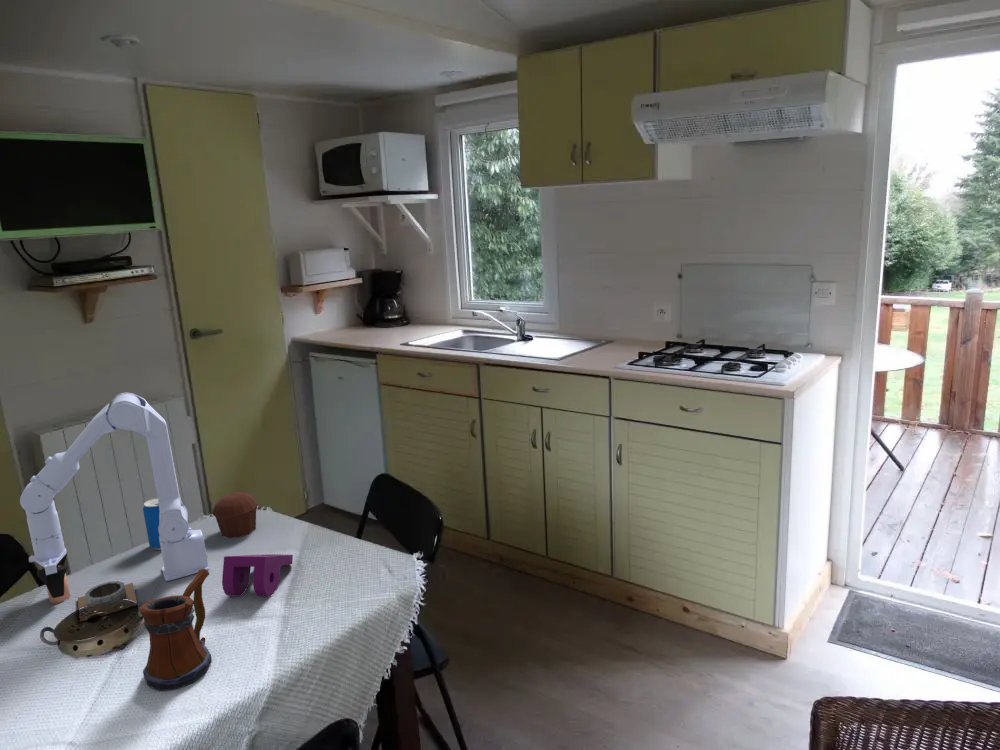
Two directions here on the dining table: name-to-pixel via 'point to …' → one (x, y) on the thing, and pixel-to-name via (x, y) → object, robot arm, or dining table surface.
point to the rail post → (62, 598)
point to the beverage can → (152, 522)
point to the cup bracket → (107, 593)
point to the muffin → (236, 514)
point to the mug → (176, 638)
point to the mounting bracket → (263, 576)
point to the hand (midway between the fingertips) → (58, 590)
